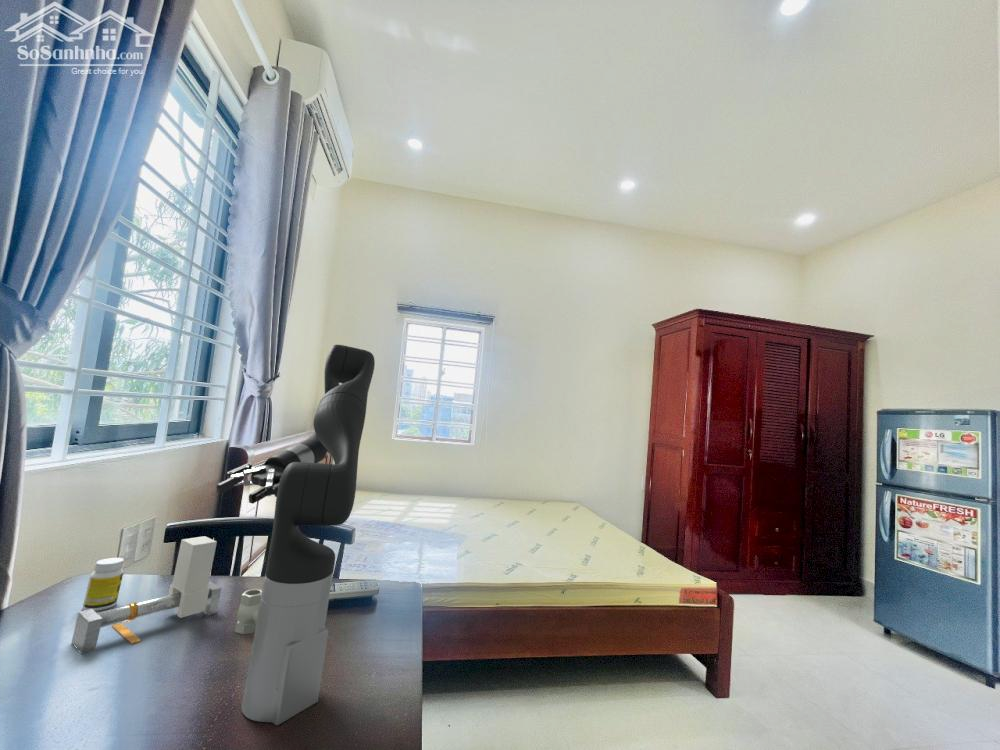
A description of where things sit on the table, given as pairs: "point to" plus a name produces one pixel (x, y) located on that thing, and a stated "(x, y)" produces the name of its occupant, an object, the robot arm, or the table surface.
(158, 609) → the rail
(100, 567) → the supplement bottle
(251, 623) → the valve
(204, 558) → the tall white pillar block
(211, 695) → the table surface
